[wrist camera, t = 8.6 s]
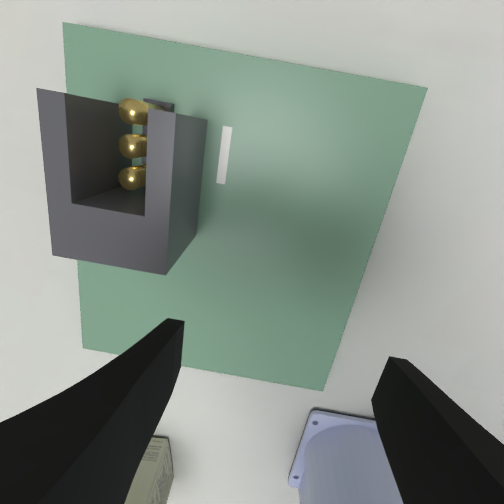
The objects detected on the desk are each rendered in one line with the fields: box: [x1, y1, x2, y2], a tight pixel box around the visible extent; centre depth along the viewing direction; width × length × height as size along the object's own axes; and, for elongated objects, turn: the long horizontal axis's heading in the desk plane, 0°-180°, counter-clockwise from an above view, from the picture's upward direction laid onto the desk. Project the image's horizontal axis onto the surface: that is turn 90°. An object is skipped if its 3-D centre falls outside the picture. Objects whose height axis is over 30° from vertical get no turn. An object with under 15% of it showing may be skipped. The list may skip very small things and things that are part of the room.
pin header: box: [118, 98, 174, 190], centre depth 14 cm, size 4×1×4 cm, turn 171°
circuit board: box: [63, 22, 428, 391], centre depth 19 cm, size 20×18×1 cm
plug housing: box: [36, 88, 208, 276], centre depth 14 cm, size 6×5×6 cm
